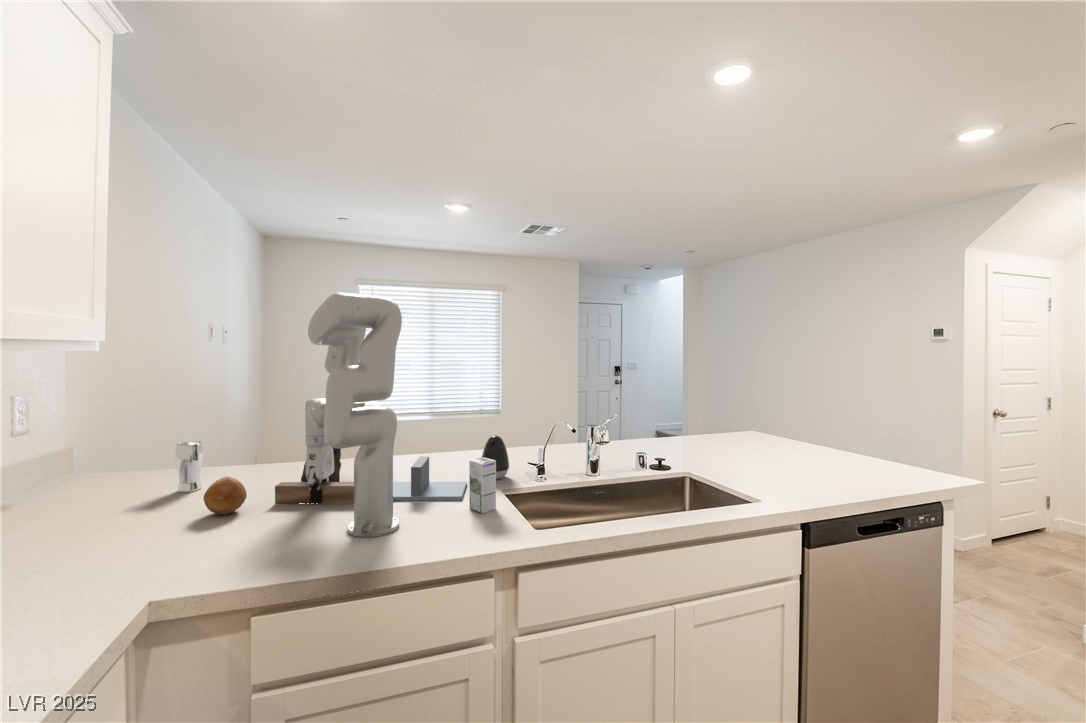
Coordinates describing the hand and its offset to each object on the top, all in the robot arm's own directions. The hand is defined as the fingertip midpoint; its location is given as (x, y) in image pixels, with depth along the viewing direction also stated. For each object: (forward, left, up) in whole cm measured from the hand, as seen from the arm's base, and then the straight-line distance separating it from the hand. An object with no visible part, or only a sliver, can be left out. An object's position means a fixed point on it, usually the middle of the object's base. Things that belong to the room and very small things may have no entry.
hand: (319, 499), depth 144 cm
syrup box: (-7, -49, -1) cm, 50 cm away
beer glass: (+13, +46, -1) cm, 48 cm away
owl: (+19, +7, -1) cm, 20 cm away
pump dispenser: (+26, -51, -1) cm, 57 cm away
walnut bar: (0, 0, -1) cm, 1 cm away
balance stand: (+9, -28, -1) cm, 30 cm away
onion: (-9, +22, -1) cm, 24 cm away
